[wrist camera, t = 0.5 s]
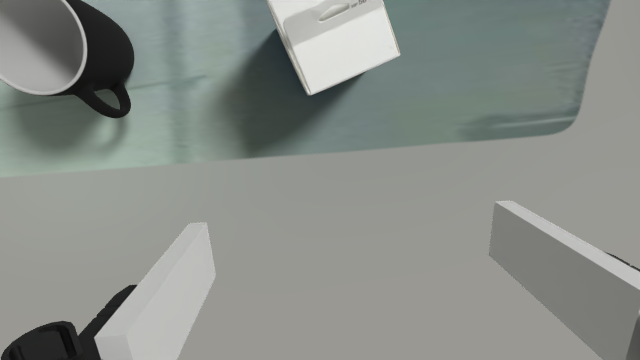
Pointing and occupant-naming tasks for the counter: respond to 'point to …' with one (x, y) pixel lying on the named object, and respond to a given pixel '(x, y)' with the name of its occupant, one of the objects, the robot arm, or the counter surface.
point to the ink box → (333, 38)
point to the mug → (64, 51)
